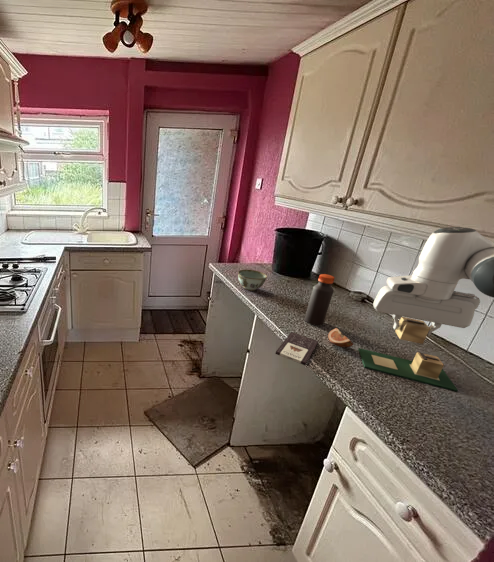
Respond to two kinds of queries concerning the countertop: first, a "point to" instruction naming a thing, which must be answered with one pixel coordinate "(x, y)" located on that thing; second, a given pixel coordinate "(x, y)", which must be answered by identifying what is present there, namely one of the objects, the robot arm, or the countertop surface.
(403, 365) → the word mat
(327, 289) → the bottle
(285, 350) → the chocolate bar
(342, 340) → the fruit slice
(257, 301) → the countertop surface
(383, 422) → the countertop surface
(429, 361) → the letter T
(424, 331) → the light wooden cube
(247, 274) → the bowl
